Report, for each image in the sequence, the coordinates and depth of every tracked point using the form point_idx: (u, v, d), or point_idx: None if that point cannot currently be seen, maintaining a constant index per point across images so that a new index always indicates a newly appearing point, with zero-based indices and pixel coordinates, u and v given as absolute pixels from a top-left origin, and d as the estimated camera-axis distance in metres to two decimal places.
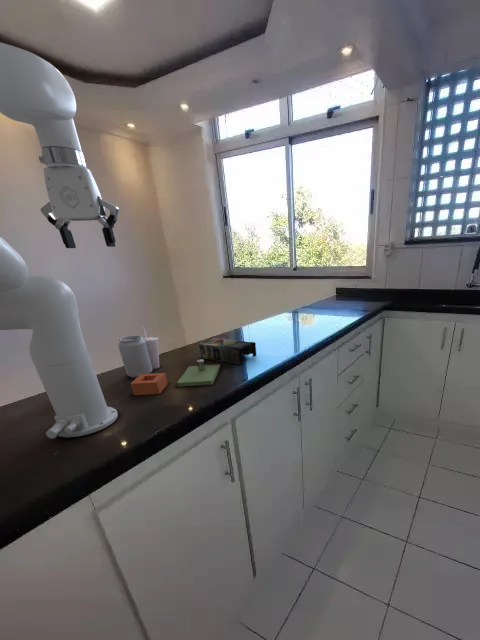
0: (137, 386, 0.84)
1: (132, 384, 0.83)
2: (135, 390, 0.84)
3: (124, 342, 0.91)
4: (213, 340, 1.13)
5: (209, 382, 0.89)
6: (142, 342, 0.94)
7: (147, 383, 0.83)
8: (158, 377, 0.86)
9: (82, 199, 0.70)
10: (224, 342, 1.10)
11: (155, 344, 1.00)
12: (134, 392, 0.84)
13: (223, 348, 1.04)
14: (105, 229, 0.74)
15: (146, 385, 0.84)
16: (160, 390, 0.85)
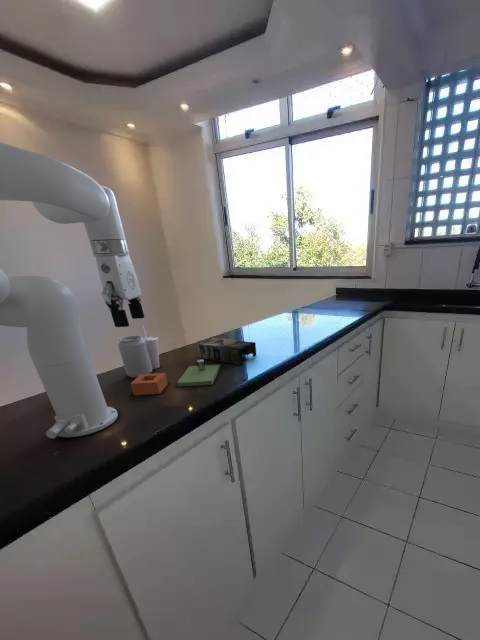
0: (137, 386, 0.84)
1: (132, 384, 0.83)
2: (135, 390, 0.84)
3: (124, 342, 0.91)
4: (213, 340, 1.13)
5: (209, 382, 0.89)
6: (142, 342, 0.94)
7: (147, 383, 0.83)
8: (158, 377, 0.86)
9: (135, 281, 0.79)
10: (224, 342, 1.10)
11: (155, 344, 1.00)
12: (134, 392, 0.84)
13: (223, 348, 1.04)
14: None
15: (146, 385, 0.84)
16: (160, 390, 0.85)
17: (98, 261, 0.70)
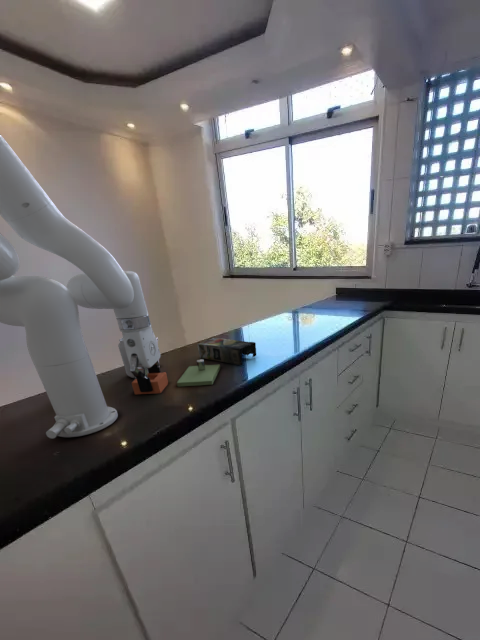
0: (138, 385, 0.84)
1: (133, 383, 0.84)
2: (136, 389, 0.84)
3: None
4: (213, 340, 1.13)
5: (209, 382, 0.89)
6: None
7: None
8: (159, 376, 0.87)
9: (156, 347, 0.86)
10: (224, 342, 1.10)
11: None
12: (135, 391, 0.85)
13: (223, 348, 1.04)
14: None
15: None
16: (161, 389, 0.86)
17: (124, 336, 0.77)
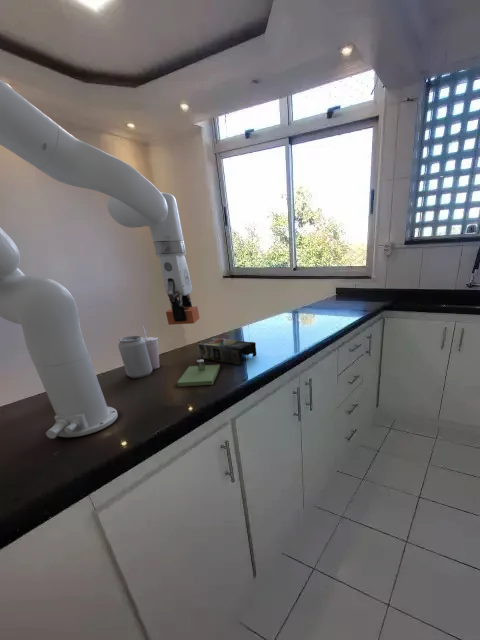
0: None
1: (167, 312, 0.85)
2: (170, 319, 0.85)
3: (124, 342, 0.91)
4: (213, 340, 1.13)
5: (209, 382, 0.89)
6: (142, 342, 0.94)
7: None
8: (192, 308, 0.88)
9: (189, 278, 0.87)
10: (224, 342, 1.10)
11: (155, 344, 1.00)
12: (169, 321, 0.86)
13: (223, 348, 1.04)
14: None
15: None
16: (194, 320, 0.87)
17: (161, 260, 0.78)
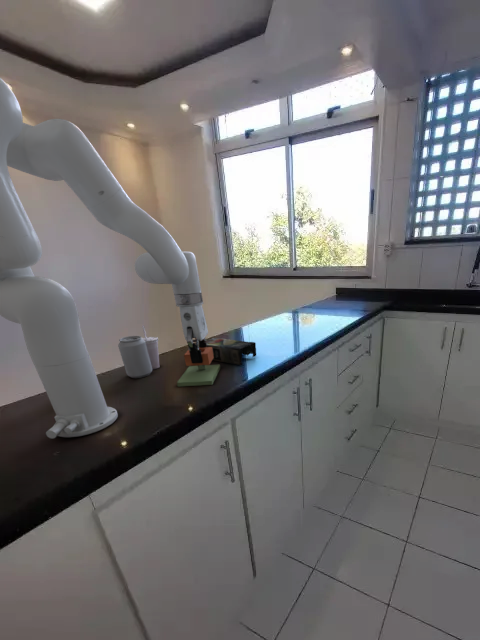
0: (190, 357, 0.92)
1: (185, 355, 0.92)
2: (187, 361, 0.93)
3: (124, 342, 0.91)
4: (213, 340, 1.13)
5: (209, 382, 0.89)
6: (142, 342, 0.94)
7: None
8: (207, 350, 0.95)
9: (205, 323, 0.94)
10: (224, 342, 1.10)
11: (155, 344, 1.00)
12: (186, 363, 0.93)
13: (223, 348, 1.04)
14: None
15: None
16: (209, 361, 0.94)
17: (181, 311, 0.85)
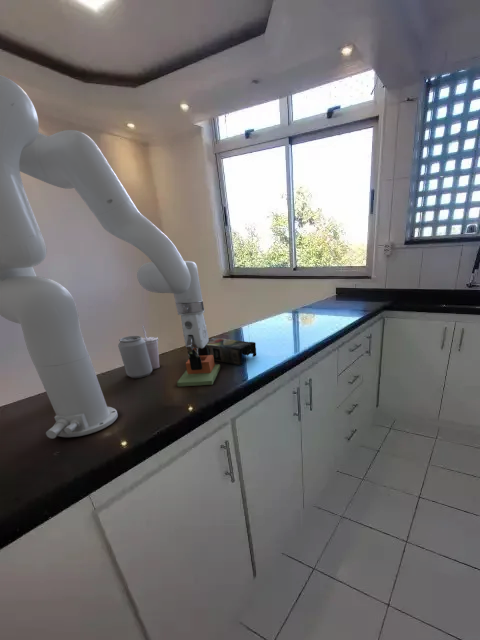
0: None
1: (187, 364, 0.93)
2: (189, 369, 0.94)
3: (124, 342, 0.91)
4: (213, 340, 1.13)
5: (209, 382, 0.89)
6: (142, 342, 0.94)
7: None
8: (208, 358, 0.96)
9: (206, 331, 0.95)
10: (224, 342, 1.10)
11: (155, 344, 1.00)
12: (188, 371, 0.94)
13: (223, 348, 1.04)
14: None
15: None
16: (211, 369, 0.95)
17: (183, 319, 0.86)
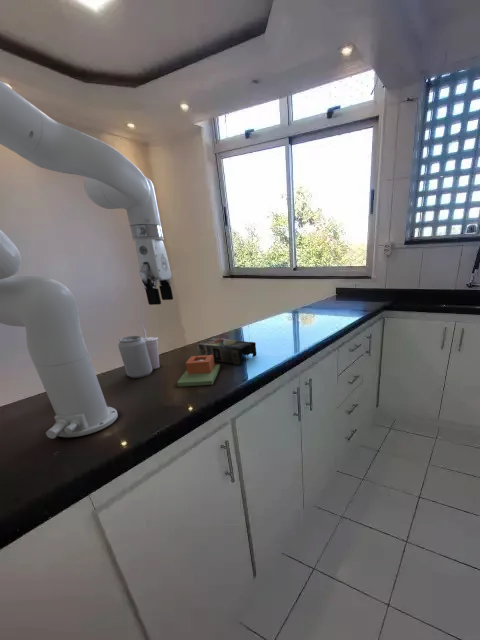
0: (191, 366, 0.93)
1: (187, 364, 0.93)
2: (189, 369, 0.94)
3: (124, 342, 0.91)
4: (213, 340, 1.13)
5: (209, 382, 0.89)
6: (142, 342, 0.94)
7: (200, 363, 0.93)
8: (208, 358, 0.96)
9: (167, 264, 0.87)
10: (224, 342, 1.10)
11: (155, 344, 1.00)
12: (188, 371, 0.94)
13: (223, 348, 1.04)
14: None
15: (199, 365, 0.93)
16: (211, 369, 0.95)
17: (137, 244, 0.78)
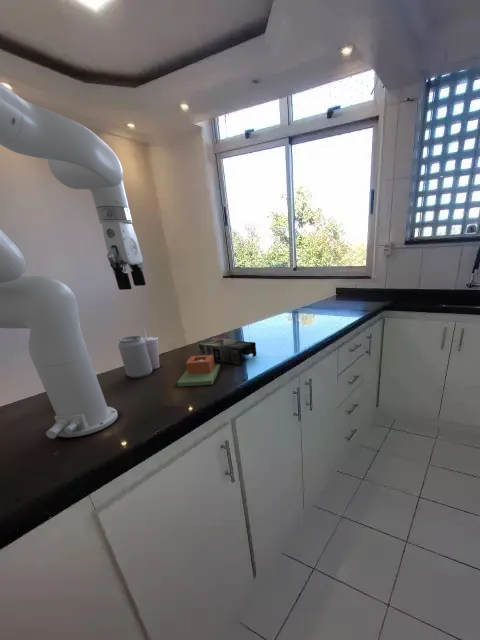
0: (191, 366, 0.93)
1: (187, 364, 0.93)
2: (189, 369, 0.94)
3: (124, 342, 0.91)
4: (213, 340, 1.13)
5: (209, 382, 0.89)
6: (142, 342, 0.94)
7: (200, 363, 0.93)
8: (208, 358, 0.96)
9: (137, 248, 0.85)
10: (224, 342, 1.10)
11: (155, 344, 1.00)
12: (188, 371, 0.94)
13: (223, 348, 1.04)
14: None
15: (199, 365, 0.93)
16: (211, 369, 0.95)
17: (104, 226, 0.76)
